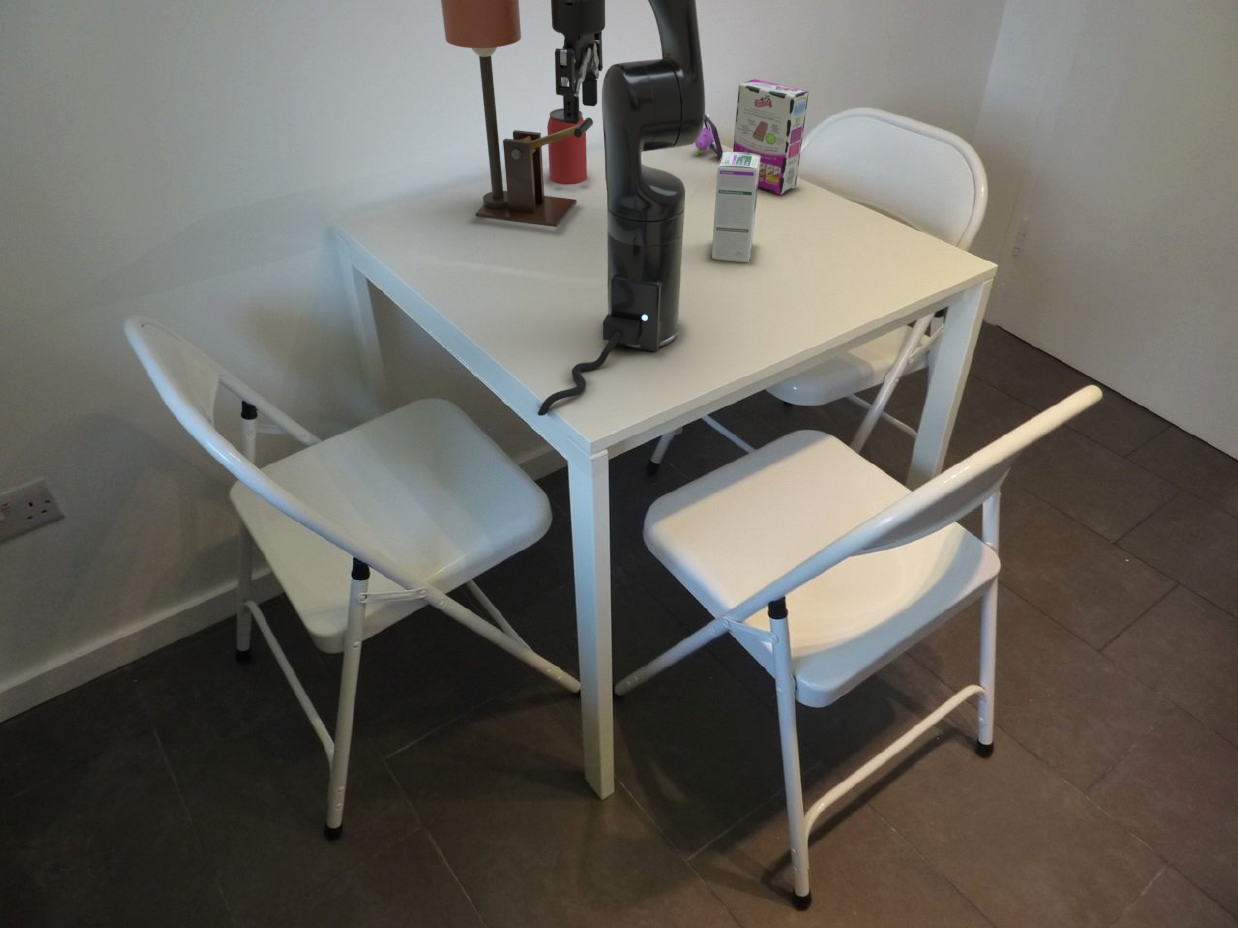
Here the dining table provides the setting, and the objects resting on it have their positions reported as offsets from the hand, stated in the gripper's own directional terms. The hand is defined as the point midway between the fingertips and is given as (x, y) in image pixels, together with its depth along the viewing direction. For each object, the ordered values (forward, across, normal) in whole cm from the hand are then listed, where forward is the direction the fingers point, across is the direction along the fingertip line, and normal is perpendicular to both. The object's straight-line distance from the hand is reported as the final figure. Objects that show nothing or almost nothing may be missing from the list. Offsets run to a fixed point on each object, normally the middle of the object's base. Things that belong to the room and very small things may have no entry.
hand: (581, 114), depth 126 cm
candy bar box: (+17, -25, +25) cm, 39 cm away
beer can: (+17, -15, -8) cm, 24 cm away
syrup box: (+18, +4, +25) cm, 31 cm away
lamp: (+16, 0, -15) cm, 22 cm away
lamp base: (+17, 0, -10) cm, 20 cm away
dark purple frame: (+17, -36, +13) cm, 42 cm away
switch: (+5, 0, -5) cm, 7 cm away
